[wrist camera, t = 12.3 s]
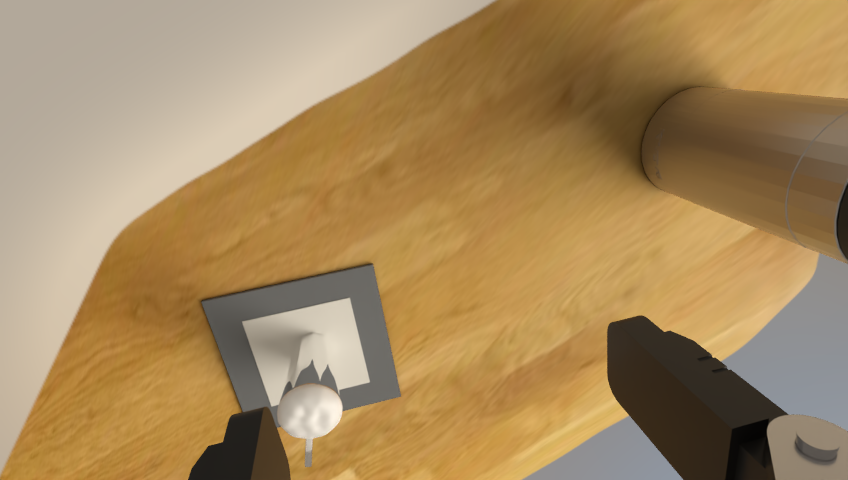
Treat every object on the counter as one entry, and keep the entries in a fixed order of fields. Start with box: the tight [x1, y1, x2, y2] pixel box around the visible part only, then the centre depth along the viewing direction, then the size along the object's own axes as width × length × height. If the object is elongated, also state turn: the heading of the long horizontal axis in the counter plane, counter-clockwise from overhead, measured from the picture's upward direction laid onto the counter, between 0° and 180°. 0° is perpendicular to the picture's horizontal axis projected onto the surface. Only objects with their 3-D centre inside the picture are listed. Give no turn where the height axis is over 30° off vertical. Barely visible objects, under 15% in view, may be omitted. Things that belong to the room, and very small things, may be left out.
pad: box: [201, 264, 401, 427], centre depth 42 cm, size 14×14×1 cm
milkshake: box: [277, 333, 343, 467], centre depth 37 cm, size 4×5×10 cm
